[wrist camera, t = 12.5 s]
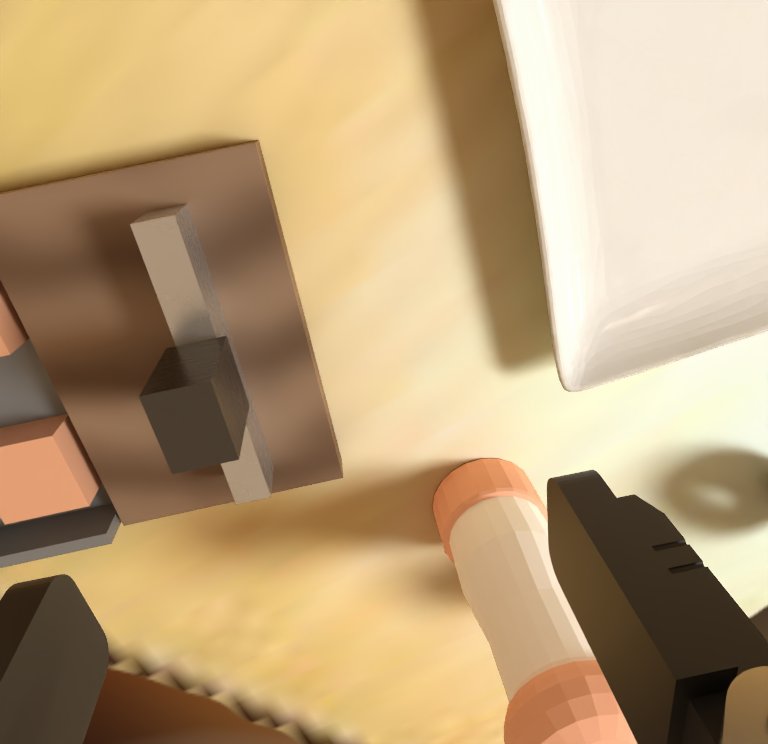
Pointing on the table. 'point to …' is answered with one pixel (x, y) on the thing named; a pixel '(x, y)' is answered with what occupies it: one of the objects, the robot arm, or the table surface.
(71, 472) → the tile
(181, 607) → the table surface
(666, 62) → the square plate
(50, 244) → the board
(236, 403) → the gray bar with block
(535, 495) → the pepper shaker
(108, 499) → the box
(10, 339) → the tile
